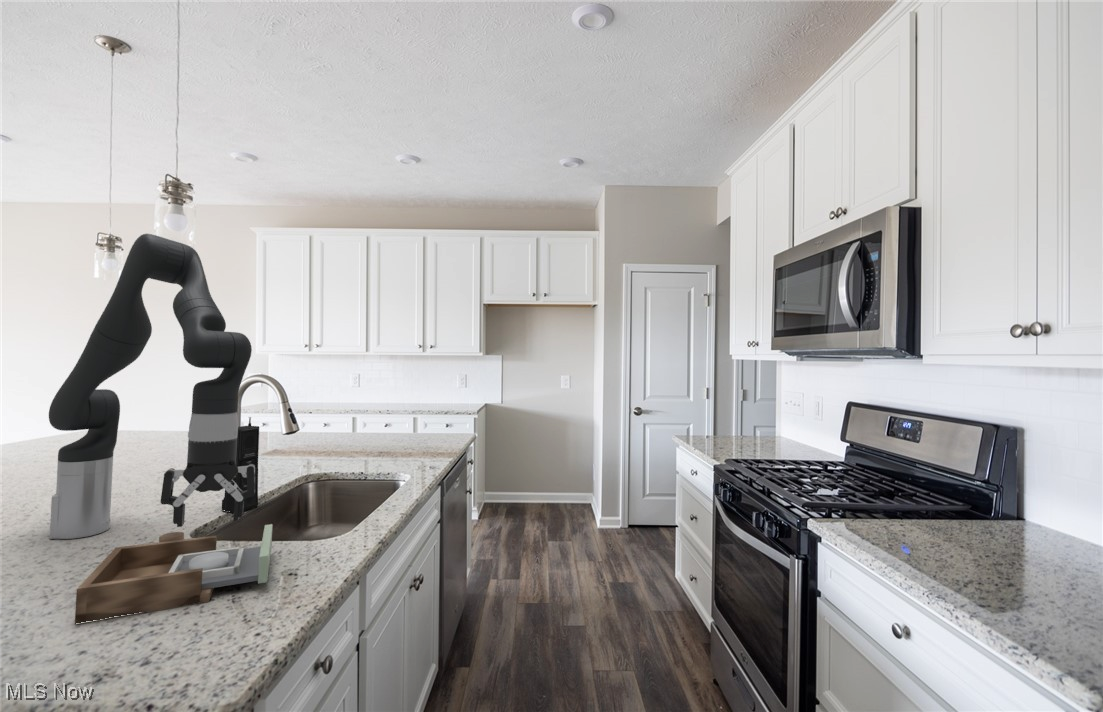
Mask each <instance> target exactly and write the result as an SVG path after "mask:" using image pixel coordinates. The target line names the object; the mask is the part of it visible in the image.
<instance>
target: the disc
mask: <svg viewBox="0 0 1103 712" xmlns="http://www.w3.org/2000/svg"><path fill="white" fill-rule="evenodd" d="M227 565H228V554H227V553H225V552H212V553H206V554H202V555H199V556H196V557H194V558H192V559H191V560H190V561H189V570H193V569H200V568H203V571H204V570H211V569H217V568H224V567H226V566H227Z"/></svg>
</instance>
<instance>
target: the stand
mask: <svg viewBox="0 0 1103 712" xmlns="http://www.w3.org/2000/svg"><path fill="white" fill-rule="evenodd" d="M183 539H185V533H184V532H183V531H173V532H169V533H168V532H167V533H164V534H162V535H159V537H158V542H166V541H174V540H183Z"/></svg>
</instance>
